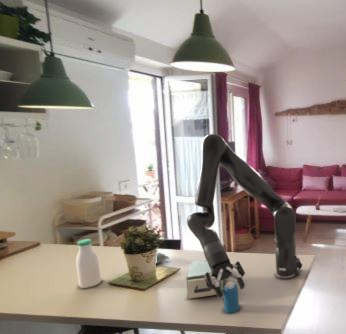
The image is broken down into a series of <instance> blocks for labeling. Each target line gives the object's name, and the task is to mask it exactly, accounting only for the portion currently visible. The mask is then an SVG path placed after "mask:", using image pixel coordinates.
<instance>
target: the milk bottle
mask: <svg viewBox="0 0 346 334" xmlns="http://www.w3.org/2000/svg"><path fill="white" fill-rule="evenodd" d="M77 247H78V253H77V255H76V259H75V265H76V273H77V280H78V286H79V287H80V288H82V289H86V288H87V289H88V288H92V287H95V286H97V285H99V284H100V283H101V281H102V276H101V270H100V263H99V257H98V255H97V253H96V251H95V250H94V249H93V247H92V240H91V239H90V238H86V239H82V240H81V239H80V240H79V241H77Z"/></svg>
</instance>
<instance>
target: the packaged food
mask: <svg viewBox="0 0 346 334" xmlns="http://www.w3.org/2000/svg"><path fill="white" fill-rule="evenodd" d="M157 252H158V254H157V264H156V265H159V264H160V263H162V262H164V261H166V260H169V259H170V257H169V256H168V255H165V254H164V253H161V252H159V251H157Z"/></svg>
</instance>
